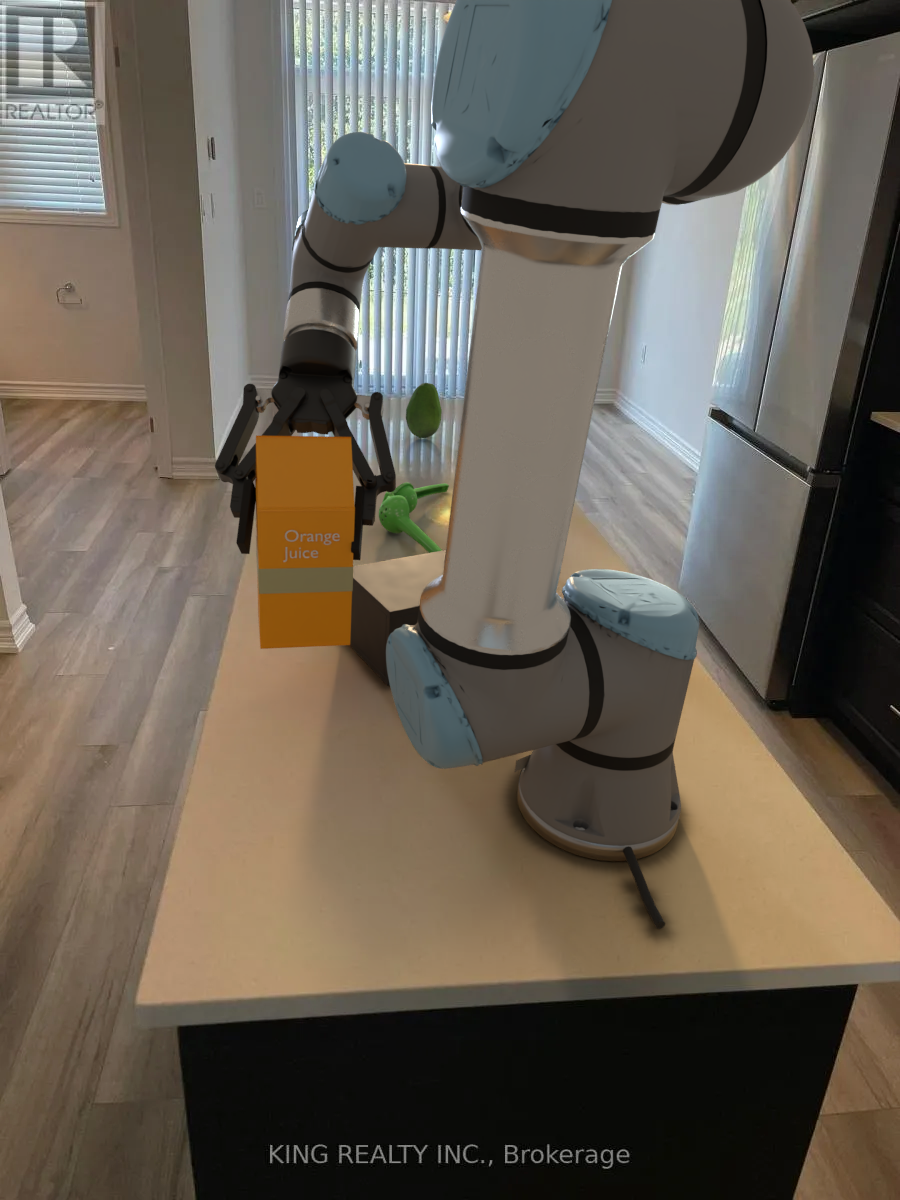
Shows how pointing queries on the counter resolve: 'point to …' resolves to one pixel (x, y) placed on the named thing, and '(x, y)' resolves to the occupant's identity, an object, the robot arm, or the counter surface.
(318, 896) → the counter surface
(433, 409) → the avocado
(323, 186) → the robot arm
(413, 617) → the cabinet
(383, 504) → the lime squeezer
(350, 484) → the orange juice
